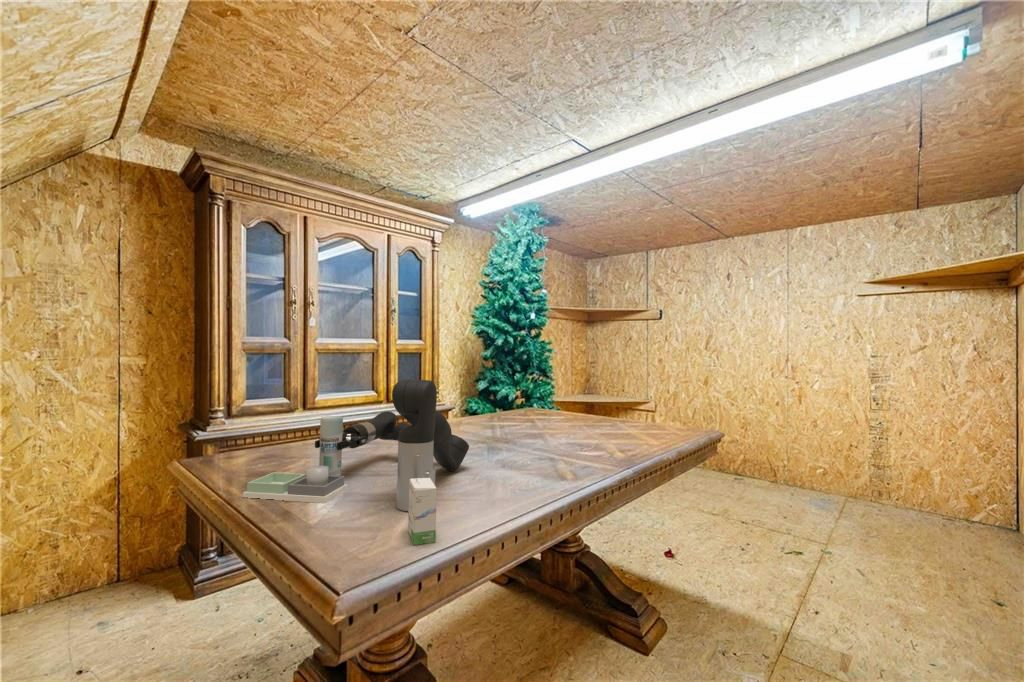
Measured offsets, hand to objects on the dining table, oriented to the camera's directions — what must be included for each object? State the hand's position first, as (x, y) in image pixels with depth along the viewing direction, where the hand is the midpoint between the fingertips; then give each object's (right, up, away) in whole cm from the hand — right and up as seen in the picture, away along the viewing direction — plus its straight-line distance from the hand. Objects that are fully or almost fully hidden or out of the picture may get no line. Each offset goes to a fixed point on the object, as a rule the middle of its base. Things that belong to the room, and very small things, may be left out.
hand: (326, 445), depth 132 cm
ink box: (+37, -11, -37) cm, 54 cm away
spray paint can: (0, -12, +1) cm, 12 cm away
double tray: (-4, -11, -10) cm, 16 cm away
